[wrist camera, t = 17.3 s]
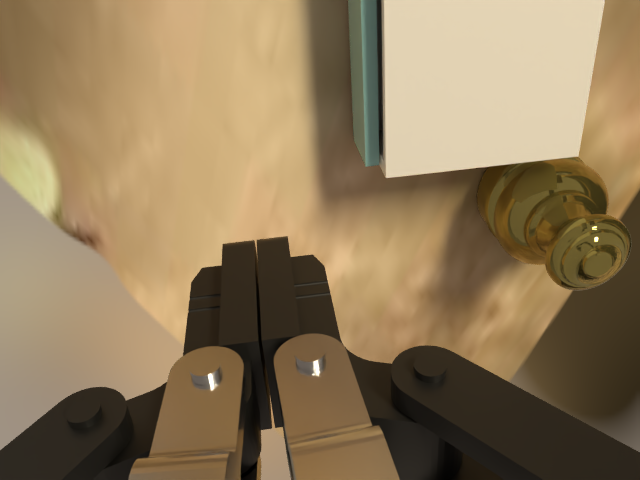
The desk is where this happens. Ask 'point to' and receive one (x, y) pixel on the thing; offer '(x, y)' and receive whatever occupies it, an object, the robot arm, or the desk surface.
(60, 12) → the desk surface
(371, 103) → the tray
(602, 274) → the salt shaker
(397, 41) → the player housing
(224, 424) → the robot arm
